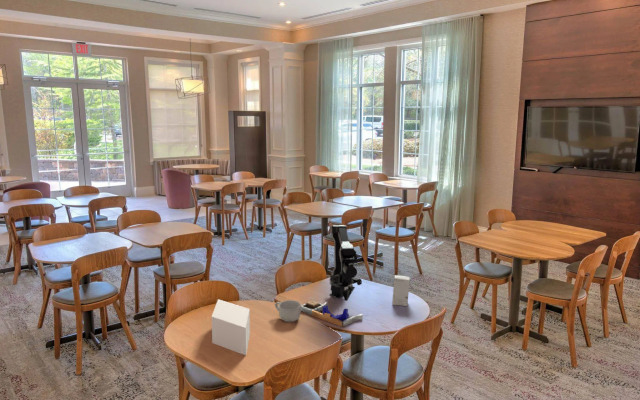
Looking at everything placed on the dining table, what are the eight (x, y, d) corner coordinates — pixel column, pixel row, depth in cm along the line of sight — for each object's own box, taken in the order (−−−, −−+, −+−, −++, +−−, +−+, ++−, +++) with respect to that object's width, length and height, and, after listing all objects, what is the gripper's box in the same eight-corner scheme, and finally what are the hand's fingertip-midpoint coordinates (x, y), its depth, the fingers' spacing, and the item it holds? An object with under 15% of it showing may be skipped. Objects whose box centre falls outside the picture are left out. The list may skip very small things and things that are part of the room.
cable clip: (348, 319, 236) (348, 307, 234) (345, 322, 231) (346, 311, 230) (325, 315, 240) (325, 304, 239) (322, 318, 235) (322, 307, 234)
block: (236, 320, 232) (235, 296, 230) (265, 351, 203) (265, 323, 200) (200, 327, 224) (199, 302, 222) (225, 361, 194) (225, 332, 192)
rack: (317, 303, 254) (317, 296, 254) (362, 319, 235) (363, 311, 234) (299, 310, 244) (299, 303, 244) (345, 328, 225) (345, 320, 224)
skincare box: (392, 305, 254) (393, 278, 251) (392, 300, 259) (394, 274, 257) (408, 306, 252) (409, 279, 249) (408, 302, 258) (409, 275, 255)
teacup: (305, 319, 234) (305, 304, 232) (289, 326, 226) (289, 310, 225) (285, 311, 243) (285, 296, 242) (269, 317, 235) (269, 302, 234)
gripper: (345, 263, 253) (345, 291, 256) (322, 272, 239) (322, 301, 242) (362, 268, 246) (361, 297, 248) (339, 277, 232) (339, 307, 235)
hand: (346, 300), depth 244 cm, fingers closed
